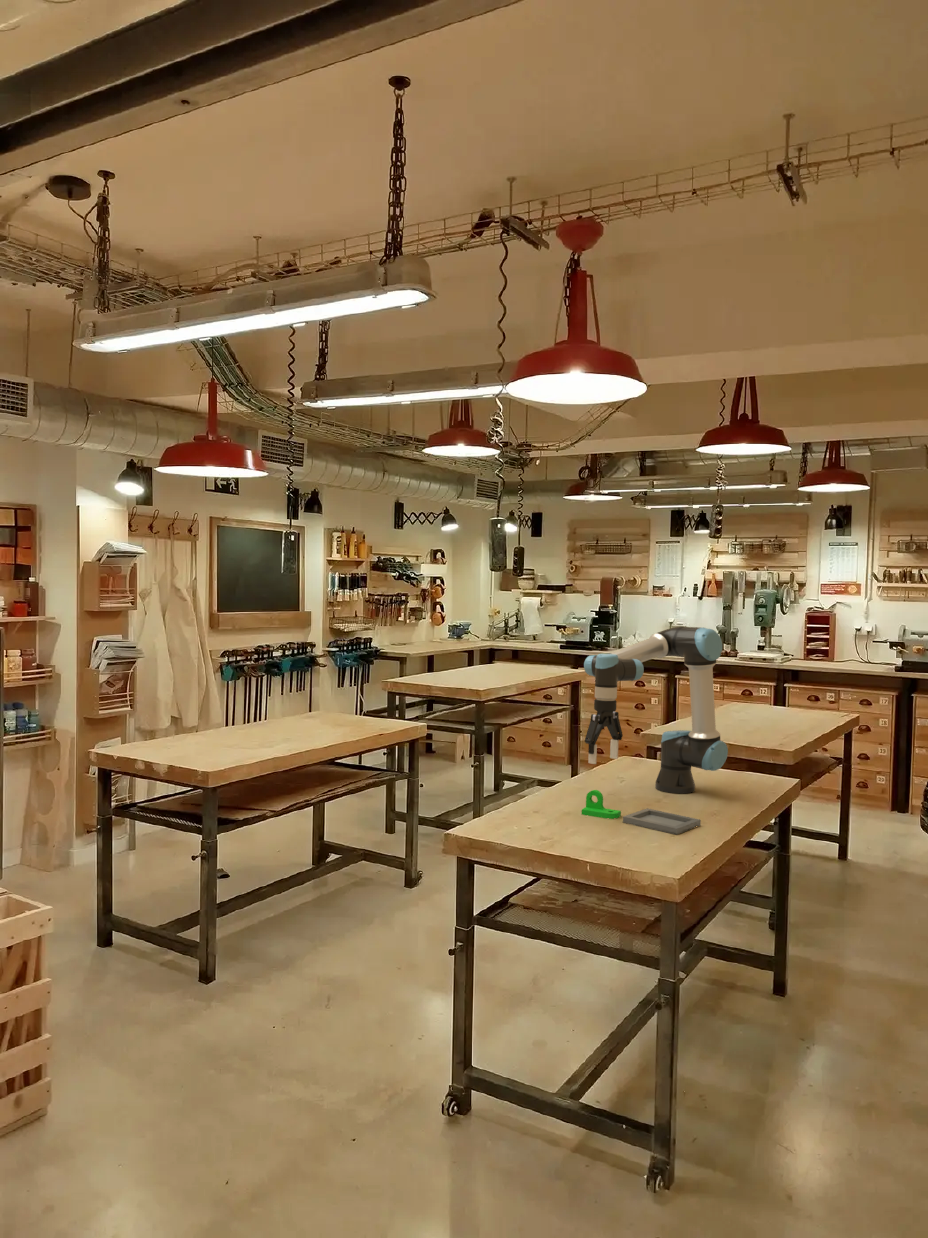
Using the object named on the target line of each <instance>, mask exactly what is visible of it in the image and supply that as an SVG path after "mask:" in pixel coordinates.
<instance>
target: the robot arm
mask: <svg viewBox="0 0 928 1238" xmlns="http://www.w3.org/2000/svg"><path fill="white" fill-rule="evenodd" d="M722 651H723V640H722V638H721V636H720V634H719V633H718V632H717V631H715V630H714V629H712V628H706V627H695V626H674V627H671V628H667V629H664V630H661V631H658V632H655V633H653V634H650V636H649V638H646V639H644V640H641V641H639V642H638V641H637V642H635V643H633V644H630V645H627V646H623V647H622V648H618V649H616V650H613V651H610V652H607V653H598V654H595V655H588V656H587V657H586V658H585V660H584V662H583V669H584V672H585V673H586V674H587V675H588V676H591V677H594V698H595V699H594V700H593V701H594V702H593V703H594V705H593V709H594V711H596V714H592V713H591V714H590V721H589V725H588V728H587V731H586V735H585V738H584V743H585V744H587V745H588V750H587V751H588V758H587V759H588V762H587V763H588V764H591V765H597V754H598V753H597V752H598V750H597V749H598V744H596V743H597V741H598V739H599V737H600V734H601V733H602V730H603V729H604V728H605V727H607V730H608V732H609V734H610V736H611V739H610V744H609V745H610V748H609V758H610V759H614V760H617V759H618V758H619V741H622V739H623V737H624V736H623V731H622V727H621V726H622V725H621V721H620V717H619V715H620V714H619V712H618V711H617V703H618V702H617V700H616V699H618V698H617V697H618V682H627V681H631V682H633V681H637V680H640V679H641V678H642V677H643V675H644V669H645V668H644V664H643V663H644V662H647V661H651V660H652V659H655V658H658V659H662V658H666V657H677V658H683V661H684V663H683V664H684V665H685V666H686V667H687V668H688V675H689V676H688V677H689V695H690V696H689V697H690V711H691V713H690V714H691V730H687V729H686V730H685V729H684V730H681V729H680V730H668V731H667V730H666V731H664V732H663V733H662V735H661V741H660V769H659V772H658V774H657V778H656V780H655V789H656V790H657V791H660V792H665V793H670V794H671V793H672V794H692V793H694V792H695V791H696V784H695V780H694V776H693V773H692V767H693V768H697V769H701V770H704V771H713V772H714V771H718V770H720V769H721V768H722V767H723V766H724V764H725V763H726V760H727V759H728V754H729V749H728V746H727V744H726V742H724V741H723V740H721V732H720V731H718V730H717V729H716V728H717V727H716V726H717V725H716V711H715V710H716V709H715V694H714V693H715V691H714V690H715V689H714V674H713V672H714V671H713V668H714V666H715V665H716V664H717V660H718V659H719V658H720V657H721V655H722V654H721V653H722ZM693 791H694V792H693ZM691 792H692V793H691Z"/></svg>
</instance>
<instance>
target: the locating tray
mask: <svg viewBox="0 0 928 1238" xmlns="http://www.w3.org/2000/svg"><path fill="white" fill-rule="evenodd" d="M701 821H702V819H699V818H694V817H690V816H685V815H680V814H676V813H672V812H671V813H670V812H666V811H662V810H658V809H652V808H648V807H647V808H644V809H642V810H638V811H636V812H633V813H630V814H626V815H624V816H622V823H625V824H628V825H631V826H632V825H633V826H636V827H641V828H645V829H649V830H655V831H658V832H663V833H667V834H671V835H672V834H673V835H677V836H678V835H681V834H683V833H685V832H687V831H688V832H689V831H690V829H691V830H692V828H693V829H695V828H694V827H696V826H698V827H701V824H702V823H701ZM696 828H697V827H696ZM680 833H681V834H680Z"/></svg>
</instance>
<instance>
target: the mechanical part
mask: <svg viewBox="0 0 928 1238" xmlns="http://www.w3.org/2000/svg"><path fill="white" fill-rule="evenodd" d="M593 797H596V799H597V800H596V802H595V801H594V800H593ZM621 811H622V810H619V809H611V808H606V807H604V796H603V793H602V792H601V791H600V790H598V789H592V790H591V791H589V792H588V793H587V794H586V796H585V807H584V808H581V815H582V816H587V815H588V816H589V817H595V818H601V819H607V818H609V819H608V820H614V818H616V819H618V818H620V817H621V816H622V814H621V813H622V812H621Z"/></svg>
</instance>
